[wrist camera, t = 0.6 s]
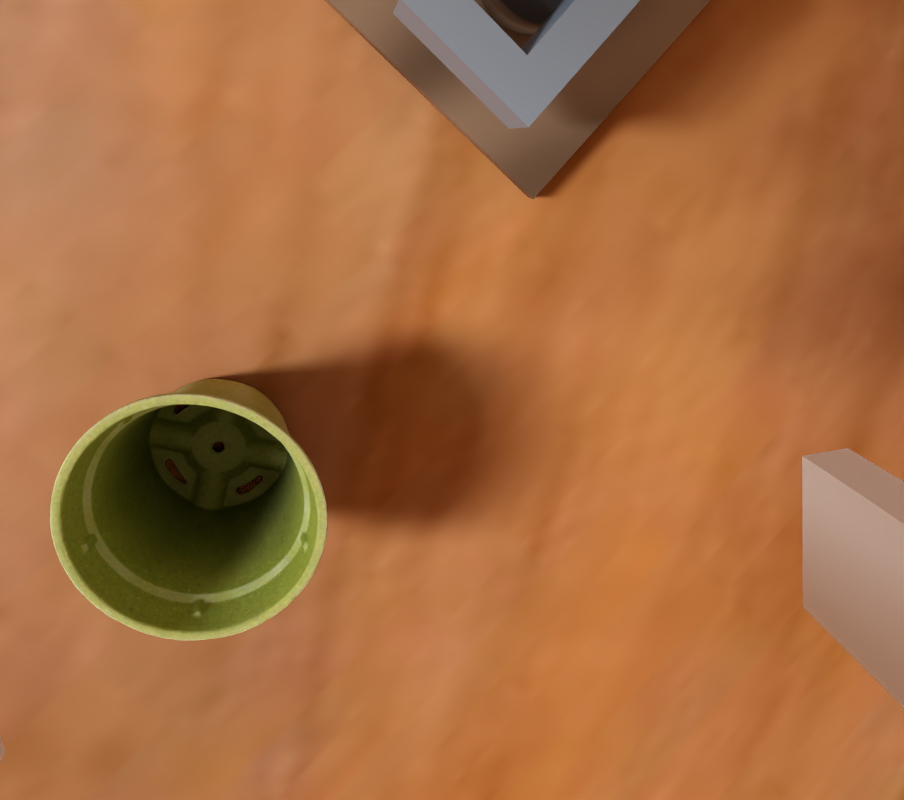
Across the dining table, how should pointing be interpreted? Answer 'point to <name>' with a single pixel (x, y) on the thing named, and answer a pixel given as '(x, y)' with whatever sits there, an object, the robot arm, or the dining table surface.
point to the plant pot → (190, 513)
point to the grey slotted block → (512, 50)
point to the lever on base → (520, 15)
